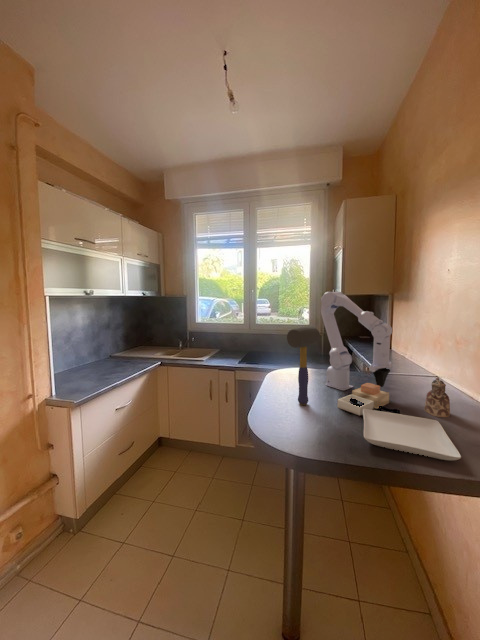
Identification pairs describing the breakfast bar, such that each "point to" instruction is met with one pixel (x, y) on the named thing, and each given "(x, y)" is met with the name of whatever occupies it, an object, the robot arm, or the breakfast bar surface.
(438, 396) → the figurine
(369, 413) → the salad plate
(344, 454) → the breakfast bar surface
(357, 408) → the tray
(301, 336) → the rubber mallet
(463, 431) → the breakfast bar surface
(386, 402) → the beige bevelled block
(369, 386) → the terracotta-coloured block
